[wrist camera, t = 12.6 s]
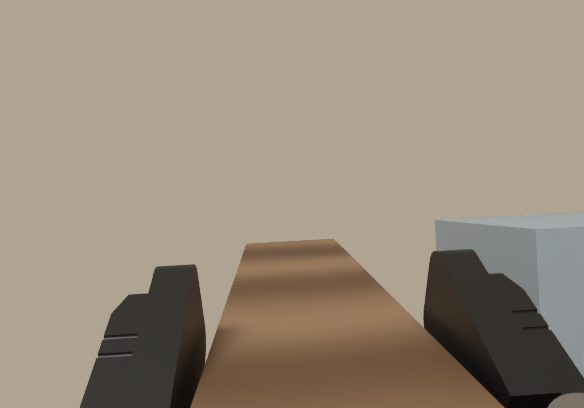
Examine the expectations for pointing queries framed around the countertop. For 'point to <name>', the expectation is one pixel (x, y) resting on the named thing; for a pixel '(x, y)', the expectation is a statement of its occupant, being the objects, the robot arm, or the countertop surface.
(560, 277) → the stand
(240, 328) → the brown wooden bar
